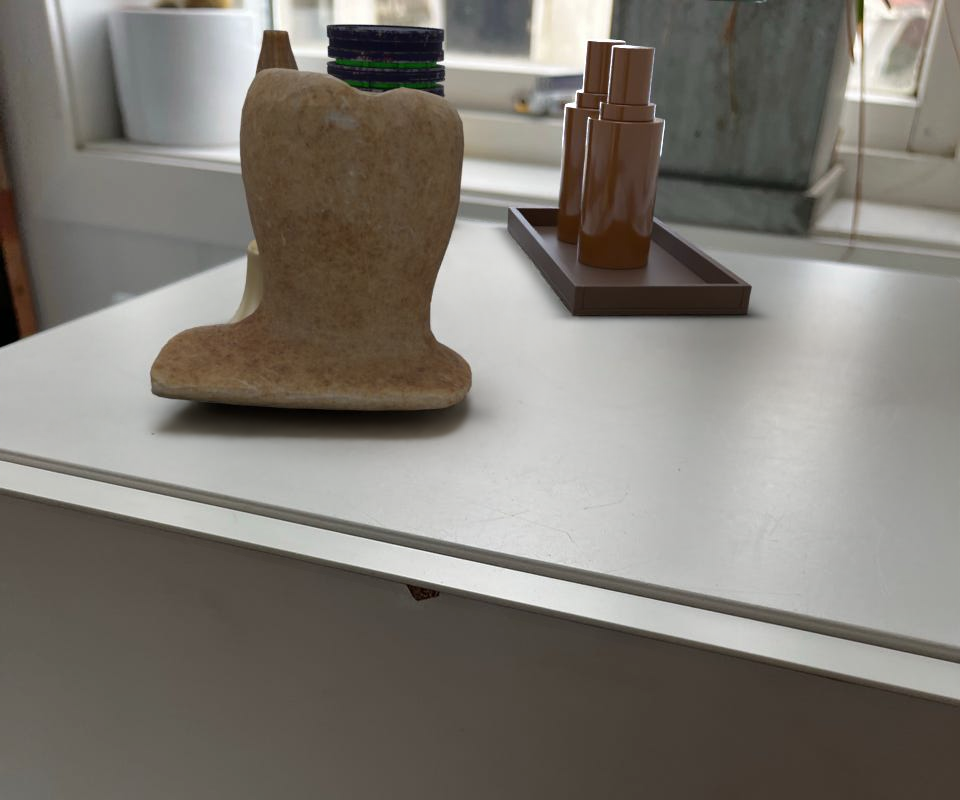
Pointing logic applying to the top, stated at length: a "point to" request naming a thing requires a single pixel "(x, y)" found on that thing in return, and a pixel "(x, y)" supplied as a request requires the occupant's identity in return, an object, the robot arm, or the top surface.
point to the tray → (630, 273)
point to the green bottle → (742, 0)
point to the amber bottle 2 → (621, 167)
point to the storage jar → (387, 57)
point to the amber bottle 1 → (581, 135)
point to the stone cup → (336, 254)
